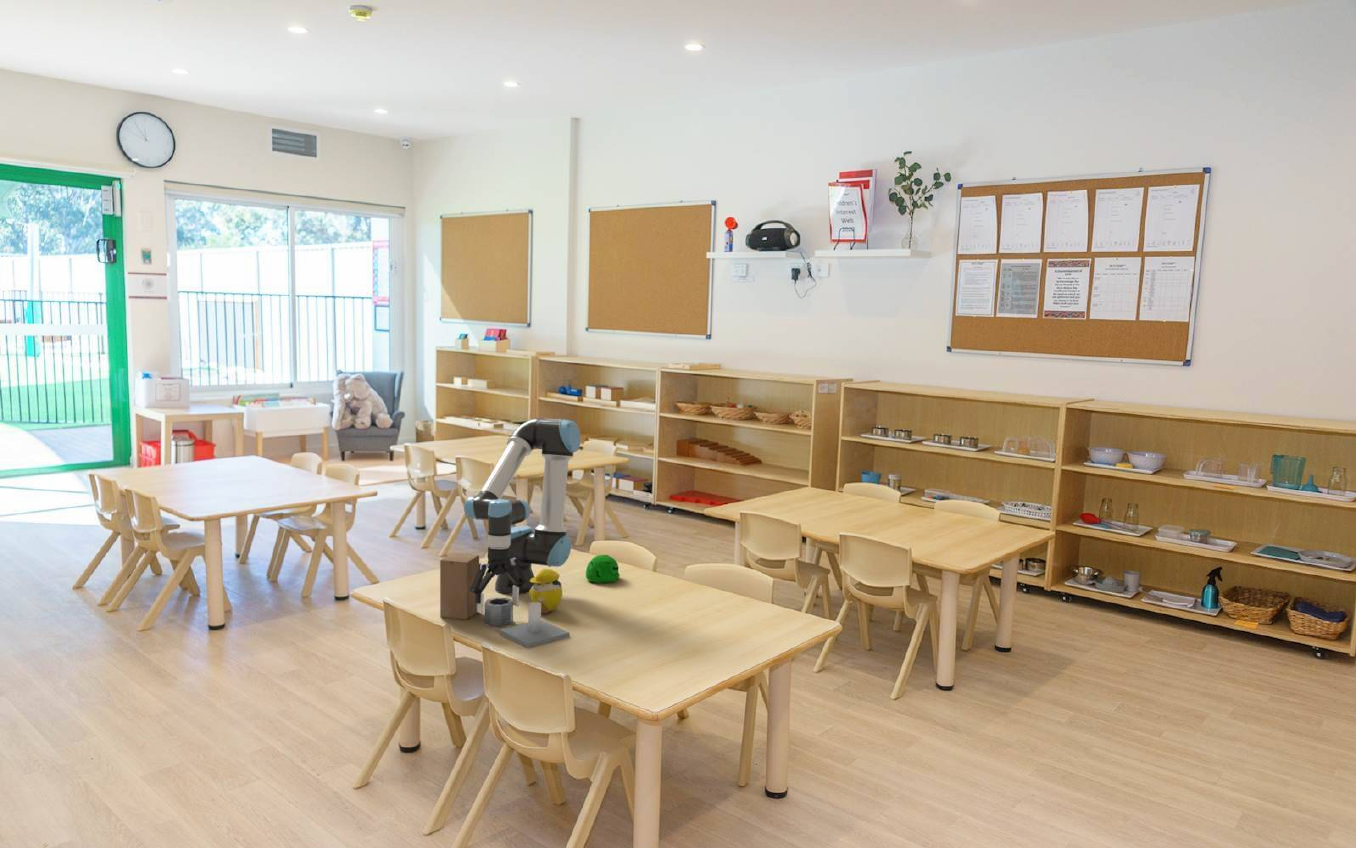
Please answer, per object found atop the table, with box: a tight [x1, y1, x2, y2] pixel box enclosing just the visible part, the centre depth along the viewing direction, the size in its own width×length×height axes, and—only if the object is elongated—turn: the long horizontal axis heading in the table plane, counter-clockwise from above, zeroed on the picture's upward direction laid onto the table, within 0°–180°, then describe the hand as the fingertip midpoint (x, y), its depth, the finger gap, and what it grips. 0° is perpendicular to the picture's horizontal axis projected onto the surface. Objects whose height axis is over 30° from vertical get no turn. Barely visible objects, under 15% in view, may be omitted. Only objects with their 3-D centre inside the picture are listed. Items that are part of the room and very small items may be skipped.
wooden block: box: [439, 552, 480, 621], centre depth 311 cm, size 10×10×20 cm
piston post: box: [499, 602, 571, 649], centre depth 293 cm, size 16×16×10 cm
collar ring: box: [483, 597, 514, 628], centre depth 305 cm, size 9×9×7 cm
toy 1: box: [528, 568, 563, 614], centre depth 317 cm, size 13×10×15 cm
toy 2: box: [585, 554, 621, 584], centre depth 356 cm, size 14×13×10 cm
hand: (498, 609), depth 304 cm, fingers open, 13 cm apart
